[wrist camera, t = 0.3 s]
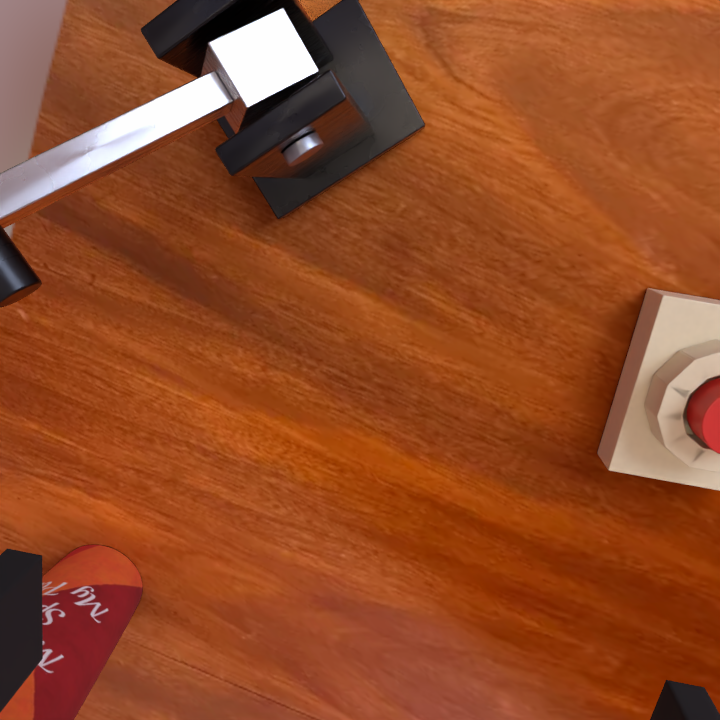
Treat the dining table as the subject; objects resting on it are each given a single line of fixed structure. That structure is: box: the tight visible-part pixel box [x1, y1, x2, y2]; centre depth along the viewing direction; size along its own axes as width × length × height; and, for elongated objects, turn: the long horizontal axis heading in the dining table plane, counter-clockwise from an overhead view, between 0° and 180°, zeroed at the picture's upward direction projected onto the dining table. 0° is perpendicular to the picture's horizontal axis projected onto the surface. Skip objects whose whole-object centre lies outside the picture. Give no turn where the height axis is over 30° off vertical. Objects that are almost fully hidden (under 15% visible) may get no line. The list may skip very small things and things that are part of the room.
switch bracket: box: [141, 0, 425, 219], centre depth 24 cm, size 9×7×14 cm
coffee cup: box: [0, 545, 143, 720], centre depth 34 cm, size 8×8×15 cm
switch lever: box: [0, 8, 319, 307], centre depth 18 cm, size 12×5×2 cm, turn 120°
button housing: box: [597, 288, 720, 491], centre depth 31 cm, size 10×8×4 cm
